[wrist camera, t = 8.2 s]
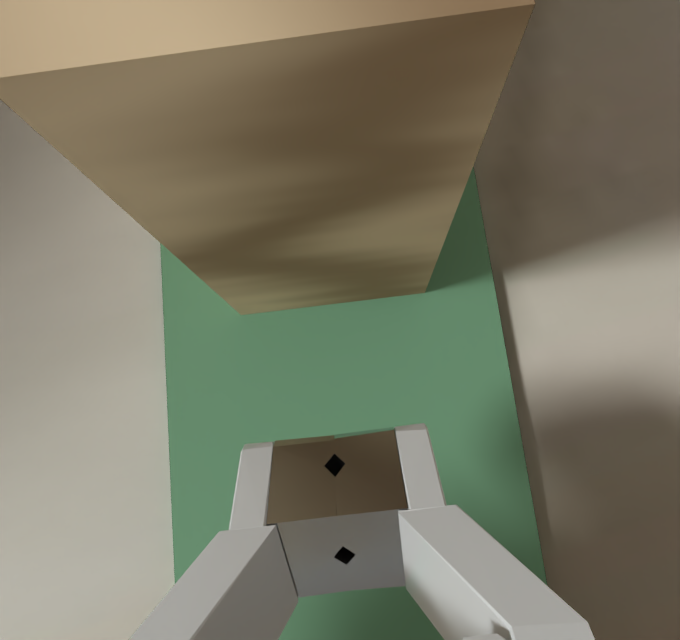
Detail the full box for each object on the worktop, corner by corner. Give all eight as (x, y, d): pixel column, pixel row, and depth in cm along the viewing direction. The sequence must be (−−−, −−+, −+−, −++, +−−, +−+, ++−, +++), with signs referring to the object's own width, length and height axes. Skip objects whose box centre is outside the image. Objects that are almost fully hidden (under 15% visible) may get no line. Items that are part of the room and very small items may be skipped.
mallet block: (241, 315, 15) (-20, 79, 5) (218, 2, 17) (3, -602, 7) (424, 292, 14) (534, 5, 5) (378, -21, 17) (387, -671, 7)
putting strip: (184, 694, 13) (179, 700, 13) (145, -174, 19) (142, -184, 18) (556, 657, 13) (561, 663, 13) (404, -213, 18) (404, -224, 18)
